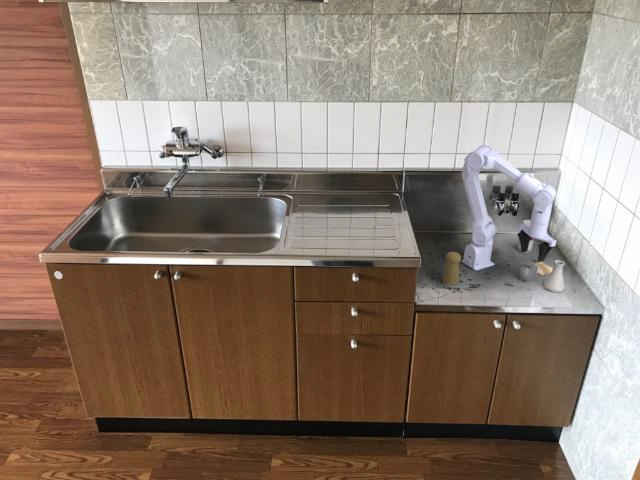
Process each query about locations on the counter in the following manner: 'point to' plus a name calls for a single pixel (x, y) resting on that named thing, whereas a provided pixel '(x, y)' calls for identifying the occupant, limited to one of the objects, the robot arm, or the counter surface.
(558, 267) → the flask
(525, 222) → the energy drink
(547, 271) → the coaster
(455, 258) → the pepper shaker
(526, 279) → the plug
